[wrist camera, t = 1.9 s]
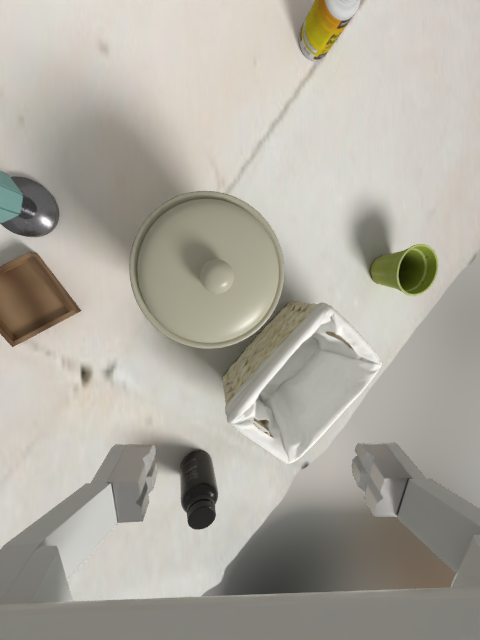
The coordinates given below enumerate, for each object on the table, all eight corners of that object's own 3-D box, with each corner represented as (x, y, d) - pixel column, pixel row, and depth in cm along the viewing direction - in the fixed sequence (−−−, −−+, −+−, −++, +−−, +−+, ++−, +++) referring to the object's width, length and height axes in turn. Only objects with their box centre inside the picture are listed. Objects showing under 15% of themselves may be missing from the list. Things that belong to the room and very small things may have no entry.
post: (21, 246, 36) (-42, 238, 26) (-20, 193, 34) (-108, 161, 24) (70, 222, 37) (28, 205, 27) (34, 169, 35) (-28, 128, 24)
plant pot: (356, 284, 52) (389, 287, 44) (373, 241, 51) (410, 236, 42) (388, 296, 55) (425, 301, 46) (404, 256, 53) (445, 254, 45)
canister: (214, 198, 41) (246, 135, 21) (265, 285, 47) (328, 299, 27) (125, 256, 40) (71, 246, 20) (189, 338, 46) (196, 395, 26)
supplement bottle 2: (313, 71, 41) (355, 11, 31) (291, 40, 39) (328, -34, 29) (333, 45, 41) (381, -24, 31) (312, 13, 39) (356, -71, 29)
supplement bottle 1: (179, 478, 52) (179, 538, 40) (180, 451, 50) (181, 505, 39) (211, 474, 53) (220, 530, 42) (213, 448, 52) (222, 498, 41)
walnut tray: (22, 342, 39) (12, 346, 37) (-29, 286, 36) (-43, 287, 34) (81, 310, 40) (75, 313, 38) (37, 253, 37) (28, 252, 35)
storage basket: (264, 418, 54) (294, 471, 40) (210, 378, 49) (222, 424, 35) (334, 338, 54) (389, 364, 40) (288, 290, 49) (332, 300, 35)
